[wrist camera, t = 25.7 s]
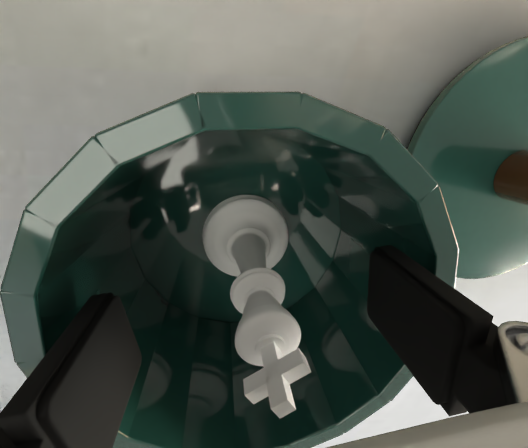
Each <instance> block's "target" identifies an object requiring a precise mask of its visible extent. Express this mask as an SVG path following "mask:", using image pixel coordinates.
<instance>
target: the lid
mask: <svg viewBox="0 0 528 448" xmlns="http://www.w3.org/2000/svg"><path fill="white" fill-rule="evenodd" d="M407 150H408V151H409V152H410V153H411V155H412V156H413V157H414V158H415V159H416V160H417V161H418V162H419V163H420V164H421V165H422V167H423V168H424V169H425V170H426V171H427V172H428V173H429V174H430V175H431V176H432V177H433V179H434V180H435V181H436V182H437V183H438V185H439V186H440V189H441V192H442V195H443V198H444V202H445V205H446V208H447V211H448V214H449V218H450V221H451V224H452V227H453V231H454V234H455V237H456V240H457V243H458V248H459V253H458V263H457V272H456V277H457V278H465V279H478V278H485V277H491V276H495V275H499V274H503V273H505V272H508V271H511V270H513V269H516V268H518V267H520V266H522V265H524V264H526V263H528V36H527V37H524V38H521V39H518V40H515V41H512V42H509V43H506V44H504V45H502V46H500V47H498V48H496V49H494V50H492V51H490V52H488V53H487V54H485V55H484V56H482V57H481V58H479V59H478V60H476V61H475V62H473V63H472V64H471V65H470V66H468V67H467V68H466V69H465V70H464V71H462V72H461V73H460V74H459V75H458V76H456V77H455V79H454V80H453V81H452V82H451V83H450V84H449V85H448V86H447V87H446V88H445V89H444V90H443V91H442V92H441V94H440V95H439V96H438V97H437V99H436V100H435V101H434V102H433V104H432V105H431V106H430V108H429V109H428V111H427V112H426V114H425V115H424V117H423V119H422V120H421V122H420V123H419V125H418V127H417V129H416V131H415V133H414V135H413V137H412V139H411V141H410V144H409V146H408V149H407Z"/></svg>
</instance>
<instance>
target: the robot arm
mask: <svg viewBox="0 0 528 448" xmlns="http://www.w3.org/2000/svg"><path fill="white" fill-rule="evenodd" d="M367 313H368V316H369V318H370V319H371V321H372V322H373V323H374V325H375V326H376V327H377V329H378V330H379V331H380V333H381V334H382V335H383V337H384V338H385V339H386V340H387V342H388V343H389V344H390V346H391V347H392V348H393V350H394V351H395V352H396V354H397V355H398V356H399V358H400V359H401V360H402V362H403V363H404V364H405V365H406V367H407V368H408V369H409V371H410V372H411V373H412V375H413V376H414V377H415V379H416V380H417V381H418V383H419V384H420V385H421V386H422V388H423V389H424V390H425V392H426V393H427V394H428V396H429V397H430V398H431V400H432V401H433V402H434V403H436V404H438V405H439V404H440V405H441V406H442V407H443V409H444V410H445V411H446V413H447V414H448V415H449V416H452V415H456V414H460V413H464V412H467V411H468V412H469V414H465V415H460V416H456V417H451V418H447V419H443V420H439V421H435V422H430V423H426V424H422V425H418V426H414V427H410V428H405V429H401V430H397V431H393V432H389V433H385V434H380V435H376V436H372V437H368V438H364V439H359V440H355V441H351V442H347V443H343V444H339V445H335V446H331V447H327V448H528V323H527V322H519V321H509V322H505V323H502V324H501V325H500V326H499V327H497V326H496V325H494V324H493V323H492V319H493V316H492V315H491V314H489V313H488V312H487V311H485V310H484V309H482V308H481V307H479V306H478V305H477V304H475V303H474V302H472V301H471V300H470V299H468V298H467V297H465V296H464V295H462V294H461V293H460V292H458V291H457V290H455V289H454V288H453V287H451V286H450V285H448V284H447V283H445V282H444V281H443V280H441V279H440V278H438V277H437V276H436V275H434V274H433V273H431V272H430V271H428V270H427V269H426V268H424V267H423V266H421V265H420V264H419V263H417V262H416V261H414V260H413V259H411V258H410V257H409V256H407V255H406V254H404V253H403V252H402V251H400V250H399V249H397V248H396V247H394V246H393V245H385V246H379V247H375V248H374V250H373V252H371V253H370V259H369V279H368V298H367ZM141 362H142V355H141V352H140V349H139V346H138V344H137V341H136V338H135V336H134V333H133V330H132V328H131V325H130V322H129V320H128V317H127V315H126V312H125V309H124V307H123V304H122V301H121V299H120V297H119V296H115V295H114V294H113V293H111V292H109V293H103V294H97V295H93V296H91V297H90V298H89V299H88V301H87V302H86V303H85V304H84V306H83V307H82V308H81V310H80V311H79V312H78V313H77V315H76V316H75V317H74V319H73V320H72V321H71V323H70V324H69V325H68V326H67V328H66V329H65V330H64V332H63V333H62V334H61V335H60V337H59V338H58V339H57V341H56V342H55V343H54V344H53V346H52V347H51V348H50V350H49V351H48V352H47V354H46V355H45V356H44V357H43V359H42V360H41V361H40V363H39V364H38V365H37V366H36V368H35V369H34V370H33V372H32V373H31V374H30V376H29V377H28V378H27V379H26V381H25V382H24V383H23V385H22V386H21V387H20V388H19V390H18V391H17V392H16V394H15V395H14V396H13V398H12V399H11V400H10V401H9V403H8V404H7V405H6V407H5V408H4V409H3V410H2V412H1V413H0V448H113V445H114V442H115V439H116V436H117V433H118V430H119V427H120V424H121V421H122V419H123V416H124V413H125V410H126V407H127V404H128V401H129V398H130V395H131V392H132V389H133V386H134V384H135V381H136V378H137V375H138V372H139V369H140V366H141Z"/></svg>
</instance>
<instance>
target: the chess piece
mask: <svg viewBox="0 0 528 448" xmlns="http://www.w3.org/2000/svg"><path fill="white" fill-rule="evenodd" d="M202 238H203V244H204V249H205V252H206V255H207V257H208V258H209V260H210V261H211V262H212V264H213V265H214V266H215V267H217V268H218V269H219V270H221V271H222V272H224V273H226V274H229V275H232V276H236V277H237V278H236V279H235V280H234V282H233V283H232V286H231V289H230V298H231V301H232V303H233V305H234V306H235V308H236V309H237V310H238V311H239V312H240V313H242V314H243V315H242V318H241V320H240V322H239V324H238V327H237V330H236V334H235V348H236V351H237V353H238V354H239V356H240V357H241V358H242V359H243V360H244V361H246V362H248V363H250V364H252V365H256V366H263V367H264V368H262V369H261V370H259V371H257V372H255V373H254V374H252V375H250V376H248V377H246V378H245V379H243V383H244V395H245V396H246V397H247V398H248V399H249V400H250V401H251V402H252V403H253V404H255V403H257V402H259V401H261V400H262V399H264V398H266V397H268V396H269V402H270V408H271V410H272V411H273V412H274V413H275V414H276V415H277V416H278V417H279V418H282V417H284V416H286V415H288V414H289V413H291V412H293V411H295V410H296V407H295V403H294V399H293V395H292V391H291V388H290V384H291V383H293V382H295V381H296V380H298V379H300V378H302V377H304V376H305V375H307V374H309V373H311V370H310V367H309V365H308V362H307V359H306V357H305V356H304V354H303V353H302V352H301V350H300V349H299V348H298V346H299V343H300V340H301V330H300V326H299V324H298V322H297V321H296V319H295V318H294V317H293V316H292V315H291V314H290V313H289V312H288V311H287V310H286V309H285V308H283V307H282V306H281V304H282V302H283V300H284V297H285V283H284V281H283V279H282V277H281V276H280V275H279V274H278V273H277V272H275V271H274V270H271V268H273V267H274V266H275V265H276V264H277V263H278V262H279V261H280V259H281V258H282V257H283V255H284V253H285V251H286V248H287V244H288V228H287V224H286V221H285V218H284V216H283V214H282V213H281V211H280V210H279V209H278V207H277V206H276V205H274V204H273V203H272V202H270V201H269V200H267V199H265V198H262V197H260V196H256V195H238V196H233V197H230V198H228V199H226V200H224V201H222V202H221V203H219V204H218V205H217V206H216V207H215V208H214V209H213V210H212V211H211V212H210V213H209V215H208V217H207V218H206V221H205V223H204V227H203V233H202ZM297 348H298V349H297Z"/></svg>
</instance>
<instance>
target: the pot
mask: <svg viewBox="0 0 528 448" xmlns="http://www.w3.org/2000/svg"><path fill="white" fill-rule="evenodd" d="M238 195H256V196H260V197H262V198H265V199H267V200H269V201H270V202H272V203H273V204H274V205H276V206H277V207H278V209H279V210H280V211H281V213H282V214H283V216H284V218H285V221H286V224H287V228H288V244H287V248H286V251H285V253H284V255H283V257H282V258H281V259H280V261H279V262H278V263H277V264H276V265H275V266H274V267H273V268H271V270H274V271H275V272H277V273H278V274H279V275H280V276H281V277H282V279H283V281H284V283H285V297H284V300H283V302H282V304H281V306H282V307H283V308H285V309H286V310H287V311H288V312H289V313H290V314H291V315H292V316H293V317H294V318H295V319H296V321H297V322H298V324H299V326H300V330H301V340H300V343H299V346H298V348H299V349H300V350H301V352H302V353H303V354H304V356H305V357H306V359H307V362H308V365H309V367H310V370H311V373H309V374H307V375H305V376H304V377H302V378H300V379H298V380H296V381H295V382H293V383H291V384H290V388H291V391H292V395H293V399H294V403H295V407H296V410H295V411H293V412H291V413H289V414H288V415H286V416H284V417H282V418H279V417H278V416H277V415H276V414H275V413H274V412H273V411H272V410H271V408H270V402H269V396H268V397H266V398H264V399H262V400H261V401H259V402H257V403H255V404H253V403H252V402H251V401H250V400H249V399H248V398H247V397H246V396H245V395H244V383H243V379H245V378H246V377H248V376H250V375H252V374H254V373H255V372H257V371H259V370H261V369H262V368H264V367H263V366H256V365H252V364H250V363H248V362H246V361H244V360H243V359H242V358H241V357H240V356H239V354H238V353H237V351H236V348H235V334H236V330H237V327H238V324H239V322H240V320H241V318H242V315H243V314H242V313H240V312H239V311H238V310H237V309H236V308H235V306H234V305H233V303H232V301H231V298H230V289H231V286H232V283H233V282H234V280H235V279H236V278H237V277H236V276H232V275H229V274H226V273H224V272H222V271H221V270H219V269H218V268H217V267H215V266H214V265H213V264H212V262H211V261H210V260H209V258H208V257H207V255H206V252H205V249H204V244H203V238H202V233H203V227H204V223H205V221H206V218H207V217H208V215H209V213H210V212H211V211H212V210H213V209H214V208H215V207H216V206H217V205H218V204H219V203H221V202H222V201H224V200H226V199H228V198H230V197H233V196H238ZM385 245H393V246H394V247H396V248H397V249H399V250H400V251H402V252H403V253H404V254H406V255H407V256H409V257H410V258H411V259H413V260H414V261H416V262H417V263H419V264H420V265H421V266H423V267H424V268H426V269H427V270H428V271H430V272H431V273H433V274H434V275H436V276H437V277H438V278H440V279H441V280H443V281H444V282H445V283H447V284H448V285H450V286H451V287H453V288H454V289H455V282H456V272H457V263H458V253H459V248H458V243H457V240H456V237H455V234H454V231H453V227H452V224H451V221H450V218H449V214H448V211H447V208H446V205H445V202H444V198H443V195H442V192H441V189H440V186H439V185H438V183H437V182H436V181H435V180H434V179H433V177H432V176H431V175H430V174H429V173H428V172H427V171H426V170H425V169H424V168H423V167H422V165H421V164H420V163H419V162H418V161H417V160H416V159H415V158H414V157H413V156H412V155H411V153H410V152H409V151H408V150H407V149H406V148H405V147H404V146H403V145H402V144H401V143H400V141H399V140H398V139H397V138H396V137H395V136H394V135H393V134H392V133H391V132H390V131H389V129H386V128H385V127H384V126H382V125H379V124H377V123H375V122H372V121H370V120H368V119H365V118H363V117H360V116H358V115H356V114H353V113H351V112H349V111H346V110H344V109H341V108H339V107H337V106H334V105H332V104H330V103H327V102H325V101H322V100H320V99H318V98H315V97H313V96H310V95H308V94H306V93H301V92H197V93H196V94H194V93H192V94H189V95H187V96H185V97H182V98H180V99H177V100H175V101H173V102H170V103H168V104H165V105H163V106H161V107H158V108H156V109H154V110H151V111H149V112H146V113H144V114H142V115H139V116H137V117H134V118H132V119H130V120H127V121H125V122H122V123H120V124H118V125H115V126H113V127H110V128H108V129H106V130H103V131H101V132H98V133H96V135H95V136H92V137H91V138H90V139H89V140H88V141H87V142H86V143H85V144H84V145H83V146H82V147H81V148H80V149H79V150H78V151H77V152H76V154H75V155H74V156H73V157H72V158H71V159H70V160H69V161H68V162H67V163H66V164H65V165H64V166H63V167H62V168H61V169H60V170H59V172H58V173H57V174H56V175H55V176H54V177H53V178H52V179H51V180H50V181H49V182H48V183H47V184H46V185H45V186H44V187H43V188H42V190H41V191H40V192H39V193H38V194H37V195H36V196H35V197H34V198H33V199H32V200H31V201H30V202H29V203H28V204H27V205H26V207H25V210H24V211H23V214H22V217H21V221H20V224H19V228H18V231H17V234H16V238H15V241H14V245H13V248H12V251H11V255H10V258H9V262H8V265H7V268H6V272H5V275H4V279H3V282H2V285H1V291H0V296H1V300H2V305H3V310H4V314H5V319H6V323H7V328H8V333H9V337H10V342H11V347H12V351H13V356H14V361H15V362H16V363H17V366H18V367H19V368H20V369H21V371H22V372H23V373H24V375H25V376H26V377H27V378H28V377H29V376H30V374H31V373H32V372H33V370H34V369H35V368H36V366H37V365H38V364H39V363H40V361H41V360H42V359H43V357H44V356H45V355H46V354H47V352H48V351H49V350H50V348H51V347H52V346H53V344H54V343H55V342H56V341H57V339H58V338H59V337H60V335H61V334H62V333H63V332H64V330H65V329H66V328H67V326H68V325H69V324H70V323H71V321H72V320H73V319H74V317H75V316H76V315H77V313H78V312H79V311H80V310H81V308H82V307H83V306H84V304H85V303H86V302H87V301H88V299H89V298H90V297H91V296H93V295H97V294H103V293H109V292H111V293H113V294H114V295H115V296H119V297H120V299H121V301H122V304H123V307H124V309H125V312H126V315H127V317H128V320H129V322H130V325H131V328H132V330H133V333H134V336H135V338H136V341H137V344H138V346H139V349H140V352H141V355H142V362H141V366H140V369H139V372H138V375H137V378H136V381H135V384H134V386H133V389H132V392H131V395H130V398H129V401H128V404H127V407H126V410H125V413H124V416H123V419H122V421H121V424H120V427H119V430H118V433H117V436H116V439H115V442H114V445H113V448H312V447H314V446H316V445H319V444H321V443H323V442H326V441H328V440H331V439H333V438H335V437H338V436H340V435H342V434H343V433H346V432H348V431H349V430H350V429H352V428H353V427H355V426H356V425H358V424H359V423H360V422H362V421H363V420H365V419H366V418H367V417H369V416H370V415H372V414H373V413H375V412H376V411H377V410H379V409H380V408H382V407H383V406H385V405H386V404H387V403H389V402H390V401H392V400H393V399H394V397H395V396H396V395H397V394H398V393H399V392H400V391H401V389H402V388H403V387H404V386H405V385H406V384H407V383H408V381H409V380H410V379H411V378H412V377H413V375H412V373H411V372H410V371H409V369H408V368H407V367H406V365H405V364H404V363H403V362H402V360H401V359H400V358H399V356H398V355H397V354H396V352H395V351H394V350H393V348H392V347H391V346H390V344H389V343H388V342H387V340H386V339H385V338H384V337H383V335H382V334H381V333H380V331H379V330H378V329H377V327H376V326H375V325H374V323H373V322H372V321H371V319H370V318H369V316H368V313H367V298H368V279H369V259H370V253H371V252H373V250H374V248H375V247H379V246H385ZM298 348H297V349H298Z"/></svg>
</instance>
